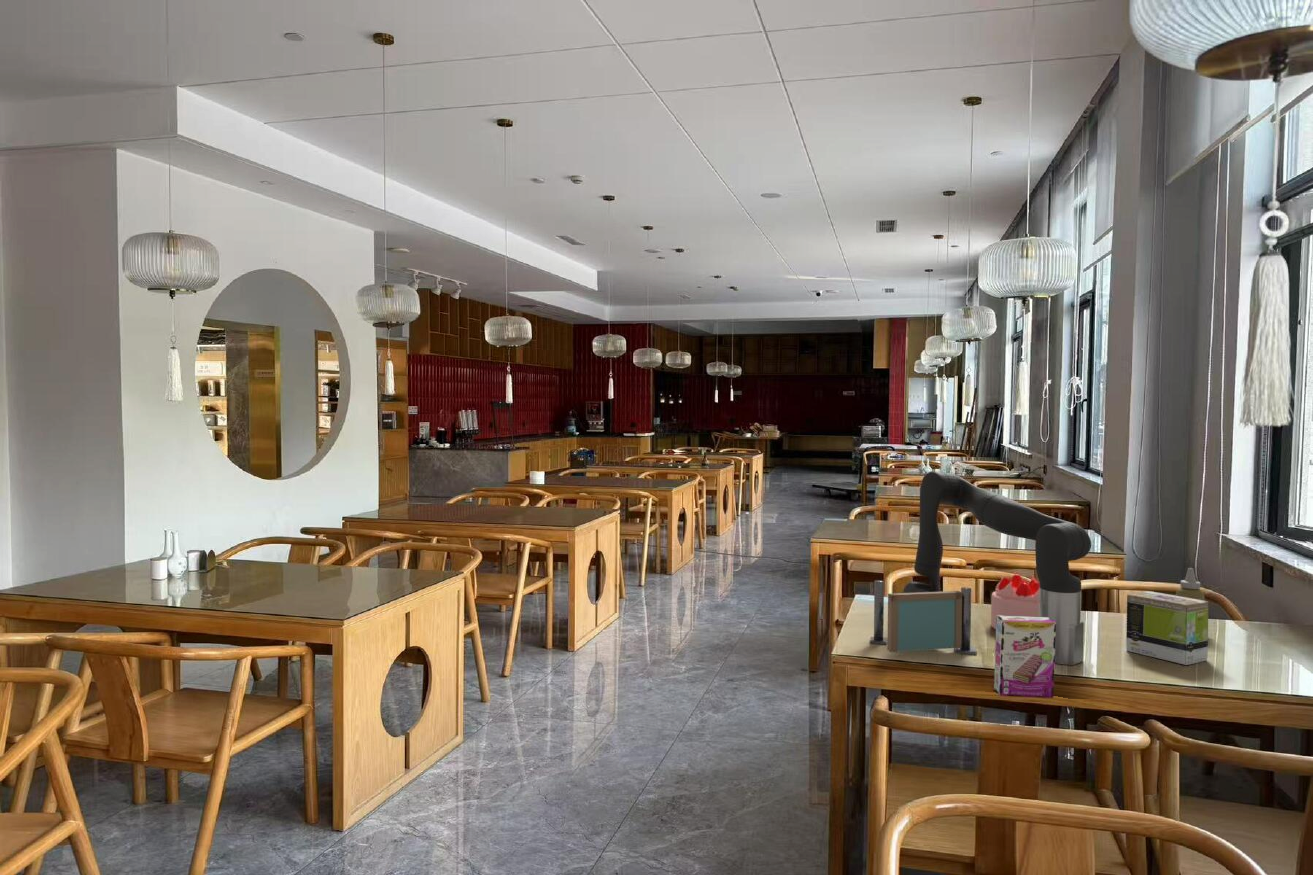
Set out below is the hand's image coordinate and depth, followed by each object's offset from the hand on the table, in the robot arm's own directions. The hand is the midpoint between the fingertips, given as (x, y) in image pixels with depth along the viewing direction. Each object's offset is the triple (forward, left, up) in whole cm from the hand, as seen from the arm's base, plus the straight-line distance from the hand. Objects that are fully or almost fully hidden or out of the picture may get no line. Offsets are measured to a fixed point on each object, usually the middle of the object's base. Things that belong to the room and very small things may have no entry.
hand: (925, 624), depth 215 cm
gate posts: (+3, -4, -7) cm, 9 cm away
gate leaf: (0, +1, -6) cm, 6 cm away
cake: (-8, -42, -7) cm, 44 cm away
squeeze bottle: (-40, -69, -7) cm, 81 cm away
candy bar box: (-30, +14, -7) cm, 34 cm away
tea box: (-42, -41, -7) cm, 60 cm away
